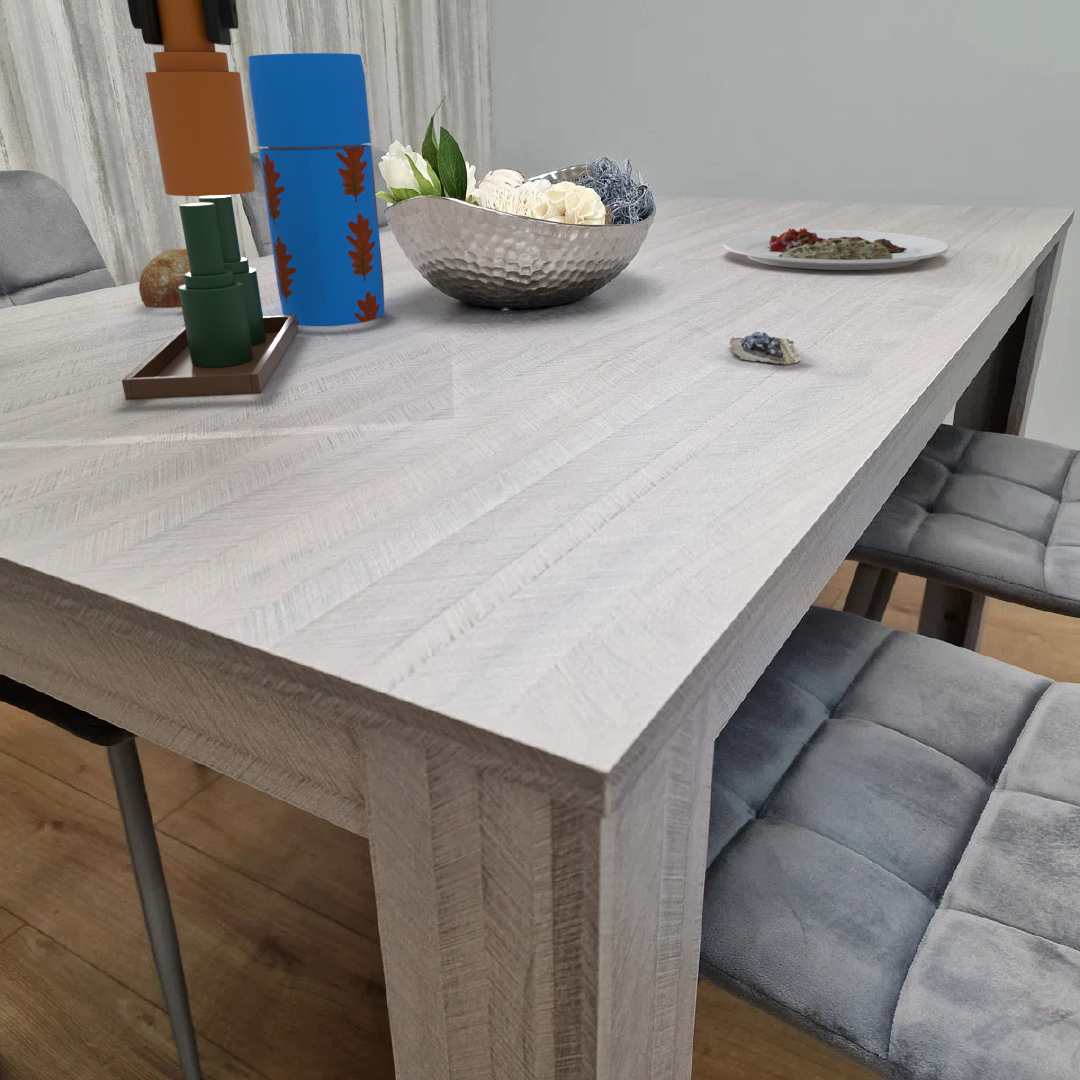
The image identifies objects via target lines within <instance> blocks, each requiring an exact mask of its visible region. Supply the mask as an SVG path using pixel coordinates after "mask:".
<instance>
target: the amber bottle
mask: <svg viewBox="0 0 1080 1080" xmlns="http://www.w3.org/2000/svg"><path fill="white" fill-rule="evenodd" d="M156 4H157V10H158V17H159V23H160V29H161V35H162V42H163V46H162V47H163V51H156V52H153V54H152V55H153V61H154V67H155V71H147V72H145V74H144V75H145V81H146V86H147V92H148V97H149V104H150V110H151V115H152V121H153V127H154V134H155V138H156V139H155V140H156V144H157V145H156V146H157V151H158V157H159V162H160V168H161V174H162V180H163V187H164V193H165V194H166V195H168V196H174V197H175V196H177V197H202V196H217V195H230V196H233V195H242V194H249V193H253V192H256V184H255V177H254V170H253V162H252V161H253V160H252V154H251V147H250V138H249V132H248V131H249V130H248V124H247V116H246V108H245V101H244V94H243V85H242V78H241V72H239V71H230V69H229V68H230V67H229V61H228V60H229V59H228V54H227V53H226V52H221V51H216V44H213V43H212V42H211V41H208V38H207V33H206V26H205V19H204V12H203V5H202V0H156Z"/></svg>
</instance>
